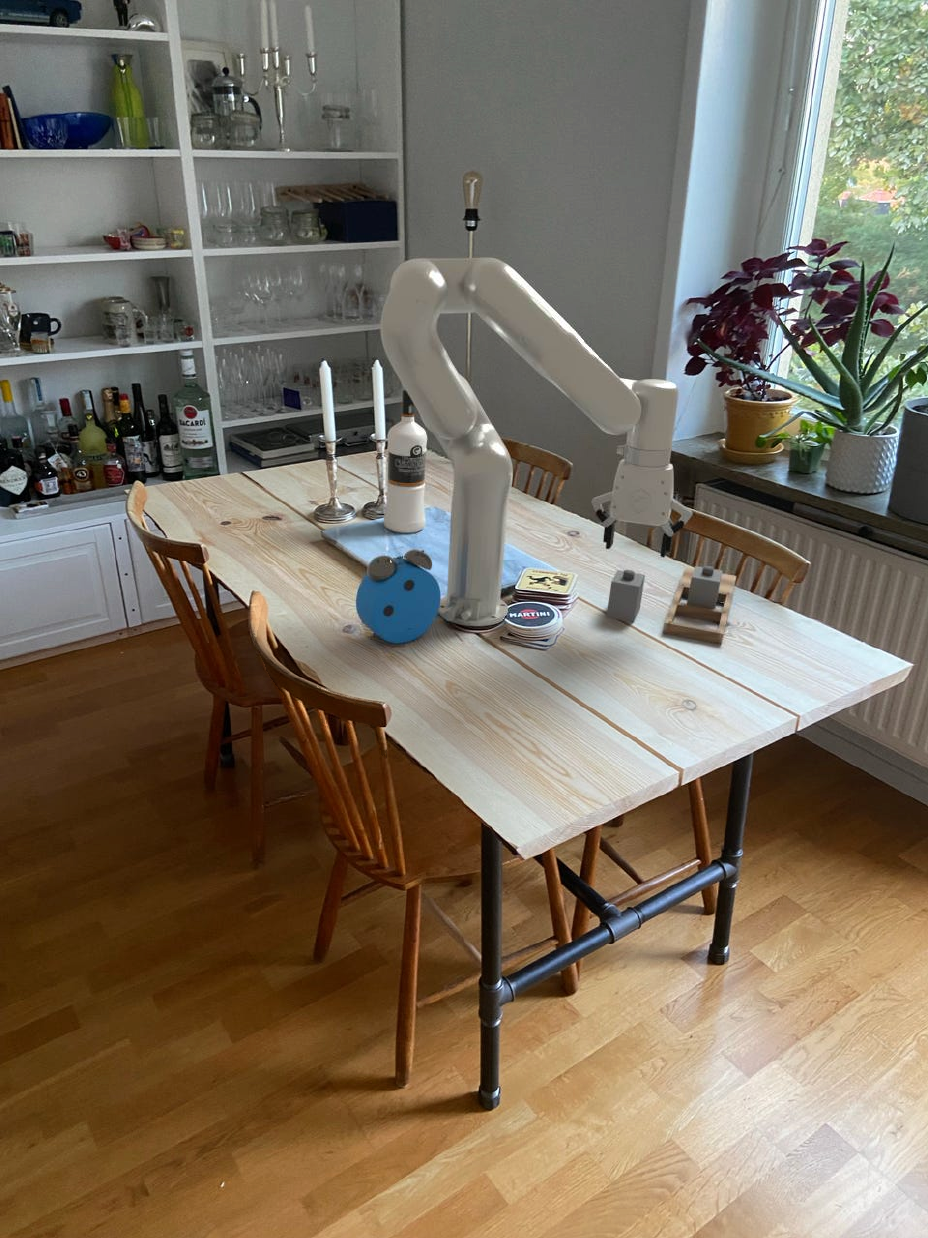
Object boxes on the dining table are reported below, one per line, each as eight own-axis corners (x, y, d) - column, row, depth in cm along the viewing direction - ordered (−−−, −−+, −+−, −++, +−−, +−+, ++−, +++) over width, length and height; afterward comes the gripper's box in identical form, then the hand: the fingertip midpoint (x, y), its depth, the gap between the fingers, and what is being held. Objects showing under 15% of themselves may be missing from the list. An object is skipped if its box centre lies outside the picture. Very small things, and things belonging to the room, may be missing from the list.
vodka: (415, 518, 206) (420, 384, 193) (432, 531, 198) (438, 393, 185) (377, 522, 202) (379, 385, 189) (392, 536, 194) (396, 395, 181)
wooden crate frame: (721, 644, 156) (724, 629, 155) (663, 632, 159) (665, 618, 158) (734, 585, 180) (737, 572, 179) (683, 576, 183) (686, 563, 182)
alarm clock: (420, 622, 157) (424, 540, 151) (440, 636, 153) (445, 553, 146) (354, 638, 150) (354, 554, 144) (373, 653, 146) (374, 567, 139)
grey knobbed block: (712, 617, 166) (720, 576, 163) (685, 611, 168) (692, 570, 164) (716, 604, 171) (723, 564, 168) (689, 599, 173) (696, 559, 169)
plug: (633, 622, 162) (640, 580, 159) (606, 617, 164) (612, 575, 160) (639, 609, 167) (645, 568, 164) (612, 604, 169) (618, 563, 165)
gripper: (592, 455, 152) (583, 550, 159) (697, 467, 147) (682, 565, 154) (601, 444, 158) (592, 536, 166) (702, 456, 153) (688, 550, 161)
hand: (636, 550), depth 160 cm, fingers open, 9 cm apart
